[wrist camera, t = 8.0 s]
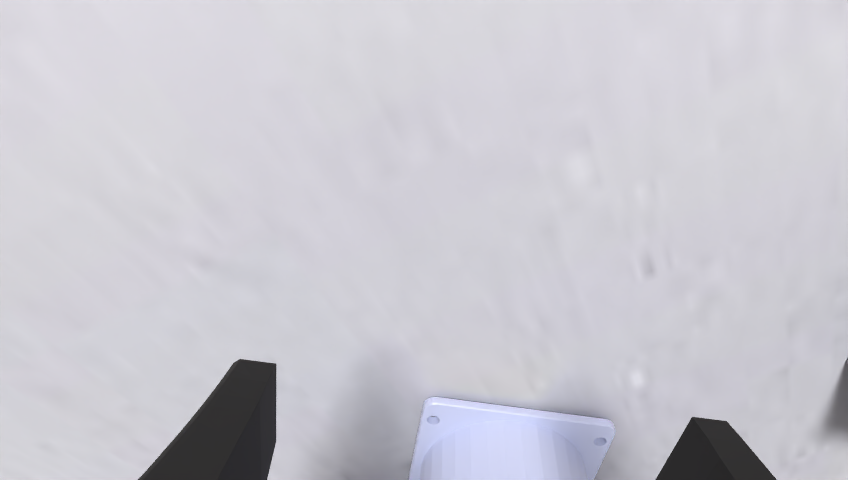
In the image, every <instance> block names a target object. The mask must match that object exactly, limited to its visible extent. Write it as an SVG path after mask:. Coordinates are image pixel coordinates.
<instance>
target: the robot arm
mask: <svg viewBox="0 0 848 480" xmlns="http://www.w3.org/2000/svg"><path fill="white" fill-rule="evenodd" d="M431 416H436V417H431ZM615 433H616V430H615V426H614V424H613V422H612V421H610V420H607V419H602V418H595V417H587V416H579V415H572V414H564V413H556V412H549V411H541V410H533V409H526V408H518V407H510V406H503V405H495V404H487V403H480V402H472V401H464V400H457V399H449V398H441V397H431V398H428V399H426V400H425V401H424V403H423V408H422V412H421V417H420V422H419V427H418V432H417V437H416V442H415V447H414V452H413V457H412V462H411V467H410V472H409V477H408V480H594V478H595V476H596V474H597V472H598V470H599V468H600V466H601V464H602V461H603V459H604V457H605V455H606V453H607V451H608V449H609V447H610V444H611V442H612V440H613V438H614V436H615ZM275 443H276V364H274V363H266V362H259V361H251V360H243V359H239V360H238V361H236V362H235V363H233V365H232V366H231V367H230V369H229V370H228V372H227V373H226V375H225V376H224V377H223V379H222V380H221V381H220V383H219V384H218V385H217V387H216V388H215V389H214V391H213V392H212V393H211V395H210V396H209V397H208V398H207V400H206V401H205V402H204V404H203V405H202V406H201V407H200V409H199V410H198V411H197V412H196V414H195V415H194V416H193V417H192V418H191V420H190V421H189V422H188V423H187V425H186V426H185V427H184V428H183V429H182V430H181V432H180V433H179V434H178V435H177V436H176V437H175V439H174V440H173V441H172V442H171V443H170V444H169V445H168V447H167V448H166V449H165V450H164V451H163V452H162V454H161V455H160V456H159V457H158V458H157V459H156V460H155V462H154V463H153V464H152V465H151V466H150V467H149V468H148V469H147V471H146V472H145V473H144V474H143V475H142V476H141V477H140V478H139V479H138V480H267V477H268V473H269V469H270V465H271V460H272V456H273V452H274V448H275ZM656 480H776V478H775V477H774V476H773V475H772V474H771V473H770V471H769V470H768V469H767V468H766V467H765V465H764V464H763V463H762V462H761V461H760V459H759V458H758V457H757V456H756V455H755V454H754V452H753V451H752V450H751V449H750V448H749V446H748V445H747V444H746V443H745V442H744V441H743V439H742V438H741V437H740V436H739V435H738V434H737V433H736V431H735V430H734V429H733V428H732V427H731V426H730V425H729V423H728V422H727V421H720V420H712V419H705V418H697V417H692V418H691V420H690V422H689V423H688V425H687V427H686V429H685V430H684V432H683V434H682V435H681V437H680V439H679V441H678V442H677V444H676V446H675V447H674V449H673V451H672V453H671V454H670V456H669V458H668V459H667V461H666V463H665V465H664V466H663V468H662V470H661V471H660V473H659V475H658V477H657V478H656Z"/></svg>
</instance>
